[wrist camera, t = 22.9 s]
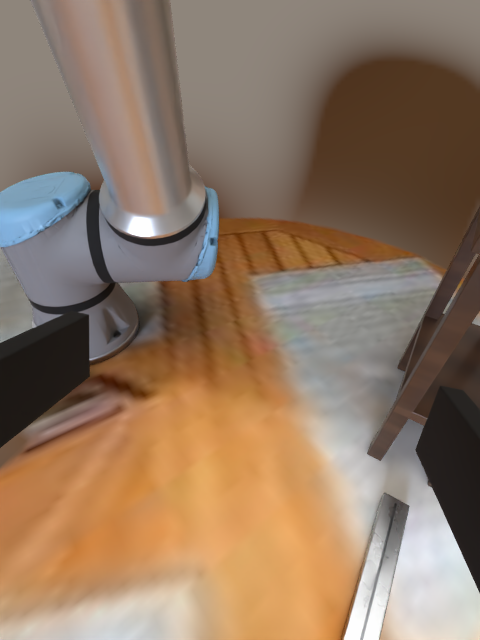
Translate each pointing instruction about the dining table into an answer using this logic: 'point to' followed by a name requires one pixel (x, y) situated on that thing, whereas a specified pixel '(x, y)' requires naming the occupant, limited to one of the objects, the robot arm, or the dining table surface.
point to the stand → (440, 346)
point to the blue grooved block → (377, 572)
